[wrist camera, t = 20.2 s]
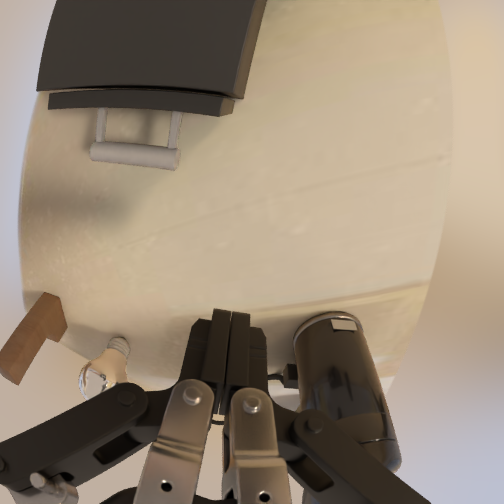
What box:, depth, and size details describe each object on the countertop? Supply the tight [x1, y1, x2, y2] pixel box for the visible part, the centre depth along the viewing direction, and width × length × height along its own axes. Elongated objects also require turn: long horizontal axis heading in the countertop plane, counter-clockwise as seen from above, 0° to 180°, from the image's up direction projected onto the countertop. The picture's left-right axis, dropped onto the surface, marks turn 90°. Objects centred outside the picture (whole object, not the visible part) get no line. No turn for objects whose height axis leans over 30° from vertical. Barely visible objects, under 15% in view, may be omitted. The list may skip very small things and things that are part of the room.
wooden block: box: [0, 292, 67, 385], centre depth 28 cm, size 7×3×15 cm, turn 167°
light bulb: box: [79, 337, 130, 401], centre depth 31 cm, size 7×7×12 cm
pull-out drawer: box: [48, 89, 235, 171], centre depth 15 cm, size 19×13×8 cm, turn 169°
